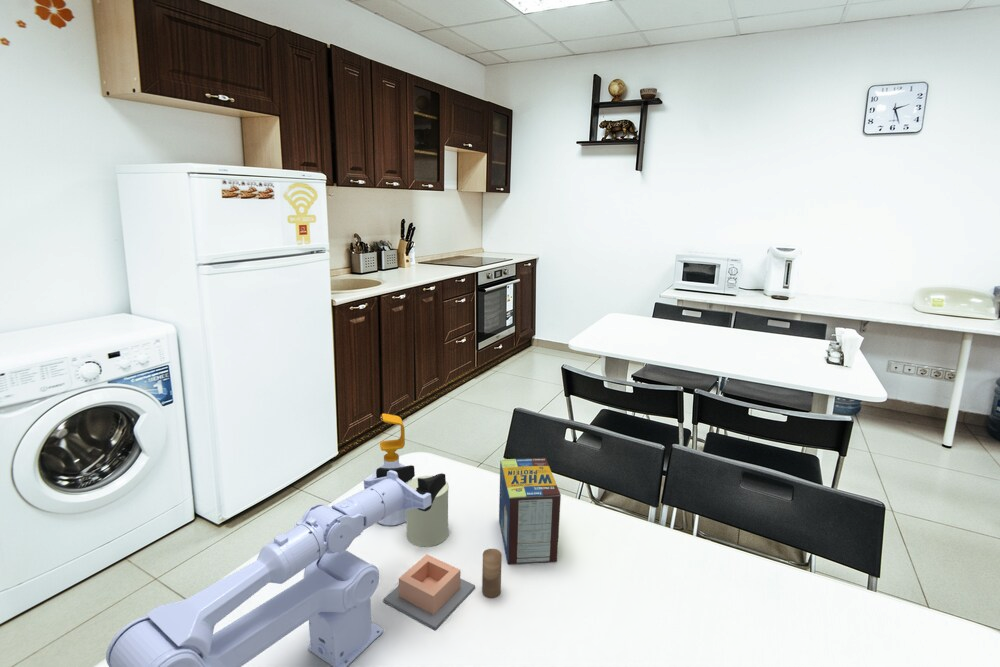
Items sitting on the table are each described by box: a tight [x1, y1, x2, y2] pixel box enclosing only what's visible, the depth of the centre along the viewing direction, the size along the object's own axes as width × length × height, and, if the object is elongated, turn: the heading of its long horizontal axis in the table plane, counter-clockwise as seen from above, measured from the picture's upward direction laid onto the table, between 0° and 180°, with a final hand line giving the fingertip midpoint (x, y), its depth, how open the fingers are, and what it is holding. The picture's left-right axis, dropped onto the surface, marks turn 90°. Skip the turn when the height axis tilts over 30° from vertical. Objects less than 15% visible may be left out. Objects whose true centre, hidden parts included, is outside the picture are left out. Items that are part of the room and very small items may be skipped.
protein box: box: [498, 457, 562, 565], centre depth 113 cm, size 10×15×16 cm
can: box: [406, 475, 450, 548], centre depth 115 cm, size 9×9×12 cm
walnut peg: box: [481, 548, 503, 599], centre depth 99 cm, size 4×4×8 cm
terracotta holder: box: [382, 553, 476, 631], centre depth 99 cm, size 12×12×4 cm
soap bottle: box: [371, 413, 413, 526], centre depth 120 cm, size 9×9×25 cm
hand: (428, 474), depth 100 cm, fingers open, 7 cm apart
